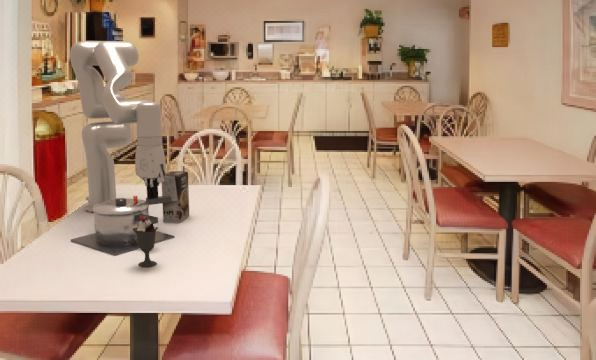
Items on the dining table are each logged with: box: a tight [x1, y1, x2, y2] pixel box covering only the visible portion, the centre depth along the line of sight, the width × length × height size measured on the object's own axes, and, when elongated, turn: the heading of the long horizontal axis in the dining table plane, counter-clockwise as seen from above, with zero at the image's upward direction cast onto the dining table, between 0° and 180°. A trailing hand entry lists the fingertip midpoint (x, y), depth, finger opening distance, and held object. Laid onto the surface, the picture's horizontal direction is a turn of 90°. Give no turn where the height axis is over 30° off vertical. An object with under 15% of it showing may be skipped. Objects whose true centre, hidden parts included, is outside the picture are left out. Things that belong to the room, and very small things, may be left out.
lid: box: [92, 195, 172, 215], centre depth 190 cm, size 24×16×3 cm
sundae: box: [133, 210, 159, 268], centre depth 167 cm, size 7×7×15 cm
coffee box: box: [161, 170, 190, 224], centre depth 212 cm, size 9×6×16 cm
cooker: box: [70, 208, 175, 256], centre depth 188 cm, size 26×22×10 cm
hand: (152, 198), depth 198 cm, fingers closed
